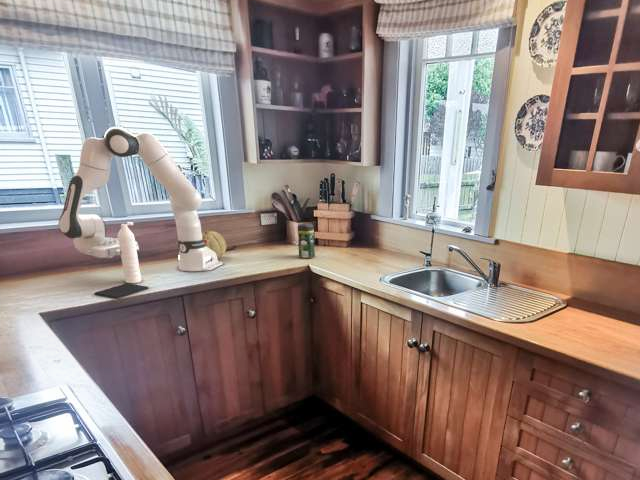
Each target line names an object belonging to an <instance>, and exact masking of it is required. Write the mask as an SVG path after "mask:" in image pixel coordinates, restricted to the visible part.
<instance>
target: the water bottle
mask: <svg viewBox="0 0 640 480" xmlns="http://www.w3.org/2000/svg"><path fill="white" fill-rule="evenodd" d="M129 225H131V226H134V225H135V224H134V222H133V221H127V222H126V223H121V224H120V229H119V230H118V233H117V238H118V241H119V247H120V251H121V253H122V254H121V255H120V258H121V263H122V270H123V275H124V282H125V283H129V284H137V283H140V282H142V275H141V270H140V269H141V268H140V262H139V258H138V251H136V244H135V241H136V238H135V235H134V233H133V232H132V231H131V229H130V228H129V227H128V226H129Z"/></svg>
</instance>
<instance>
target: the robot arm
mask: <svg viewBox="0 0 640 480" xmlns="http://www.w3.org/2000/svg"><path fill="white" fill-rule="evenodd" d="M136 155H137V156H138V157H139V158H140V159H141V161H142V162H143V164H144V165H145V166H146V167H147V169H148V170H149V172H150V173H151V174H152V176H153V177H154V178H155V179H156V181H157V182H158V183H159V184H160V185H161V187H162V188H163V189H164V190H165V191H166V192H167V194H168V199H169V201H170V207H171V210H172V214H173V217H174V221H175V226H176V234H177V247H178V249H179V250H178V261H179V262H178V270H180V271H184V272H203V271H204V272H205V271H206V272H207V271H211V270H214V269H216V268H218V267H220V266H222V265H224V262H223V261H221V260H218V259H219V258H217V255H216V253H215V252H214V251H212V250H211V249H210V248H208V247H207V246H206V244H205V243H209V240H208V239H202V234H203V232H202V225H201V220H200V218H199V215H198V211H197V210H199V209H200V208H201V206H202V202H203V199H202V196H201V194H200V193H199V191H198V190H197V189H196V187H195V186H194V185H193V184H192V182H191V181H190V180H189V179H188V178H187V176H186V175H185V174H184V173H183V172H182V170H181V169H180V168H179V166H178V165H177V163H176V161H174V159H173V158H172V157H171V155H170V154H169V152H168V151H167V149H166V148H165V147H164V146H163V145H162V143H161V142H160V141H159V140H158V138H157V137H156V136H154V135H153V134H152V133H151V132H149V131H145V132H144V131H143V132H140V133H138V134H132V133H131V131H130V130H129V129H128V128H126V127H124V126H122V125H114V126H111V127H110V128H108V129H107V130H106V131H105V133H104V134H103V135H102V137H101V138H99V137H87V138H85V139H84V140H83V143H82V147H81V151H80V157H79V165H78V169H77V172H76V173H75V175H74V176H72V178H71V179H70V180H69V184H68V187H67V190H66V196H65V199H64V203H63V209H62V213H61V215H60V216H59V219H58V229H59V230H60V232H61V233H62V234H63V235H64V236H66V237H67V238H69V239H71V240H72V239H74V240H73V245H74V247H75V249H76V250H77V251H78V252H80V253H82V254H83V255H89V256H93V257H95V258H99V259H103V258H105V259H111V258H114V257H115V256H121V254H122V253H121V251H120V247H119V241H118V237H108V236H107V225H106V222H105V221H104V220H103V217H101V216H100V215H98V214H92V213H91V214H89V213H84V214H80V211H81V206H82V202H83V199H84V197H85V196H86V195H87V194H89V193H90V192H92V191H95V190H97V189H98V190H99V189H101V188H103V187H104V186H106V185H107V184H108V182H109V180H110V175H111V164H112V159H113V157H114V156H116V157H119V158H126V157H131V156H136ZM135 244H136V251H137V252H138V251H140V246H139V243H138V241H137V240H135ZM234 248H236V245H235V246H233V245H232V247H229V248H226V251H230V250H233V249H234ZM226 251H225V252H226Z"/></svg>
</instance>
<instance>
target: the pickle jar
mask: <svg viewBox="0 0 640 480" xmlns="http://www.w3.org/2000/svg"><path fill="white" fill-rule="evenodd" d="M297 234H298V258H299V259H303V260H304V259H305V260H307V259H312V258H314V257H315V256H316V253H315V251H316V250H315V235H314V234H315V228H314V224H313V223H312V222H304V223H301V224H299V225H297Z"/></svg>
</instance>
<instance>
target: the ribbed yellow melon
mask: <svg viewBox="0 0 640 480" xmlns="http://www.w3.org/2000/svg"><path fill="white" fill-rule="evenodd" d="M202 239H208V240H209V243H205V244H206V246H207V247H208V248H210V249H211V250H212V251H214V252H215V253H216V255H217V259H220V258H221V257H222V256H224V255H225V253H226V249H227V242H226V240H225V238H224V237H223V235H221V234H220V233H219V232H217V231H213V230H208V231H207V230H206V231H204V232H202Z"/></svg>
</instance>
